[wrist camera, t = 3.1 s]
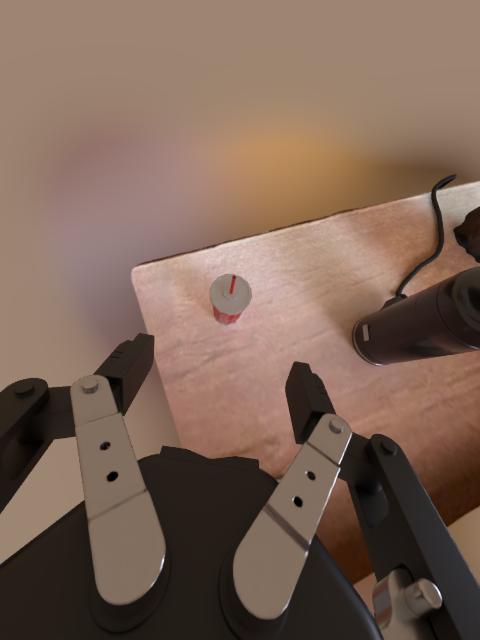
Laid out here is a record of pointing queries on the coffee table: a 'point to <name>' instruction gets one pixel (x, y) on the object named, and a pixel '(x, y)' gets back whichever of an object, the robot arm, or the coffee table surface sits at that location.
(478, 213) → the owl
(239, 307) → the beverage cup
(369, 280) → the coffee table surface
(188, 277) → the coffee table surface
